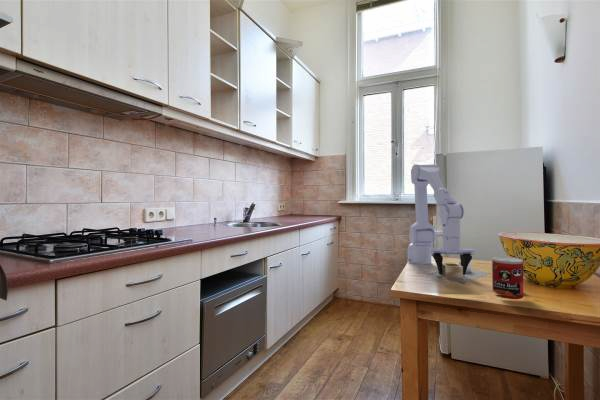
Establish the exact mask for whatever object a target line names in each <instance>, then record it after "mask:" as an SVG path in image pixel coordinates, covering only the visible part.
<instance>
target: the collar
mask: <svg viewBox="0 0 600 400" xmlns="http://www.w3.org/2000/svg"><path fill="white" fill-rule="evenodd" d="M442 271H443V273H442V275H443V276H445V277H446V278H463V267H462V266H461V265H459V262H442Z"/></svg>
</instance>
